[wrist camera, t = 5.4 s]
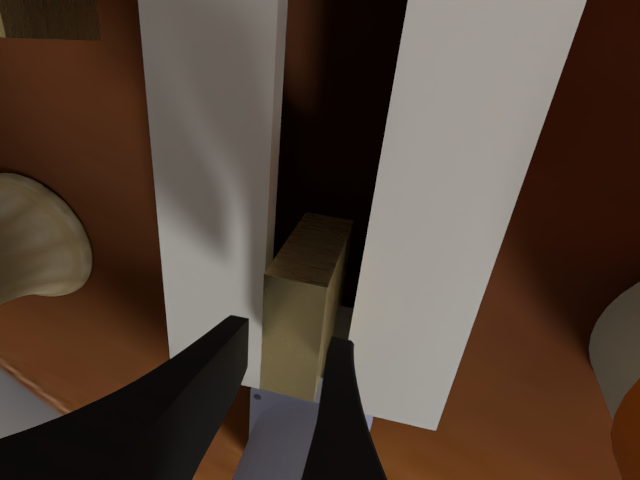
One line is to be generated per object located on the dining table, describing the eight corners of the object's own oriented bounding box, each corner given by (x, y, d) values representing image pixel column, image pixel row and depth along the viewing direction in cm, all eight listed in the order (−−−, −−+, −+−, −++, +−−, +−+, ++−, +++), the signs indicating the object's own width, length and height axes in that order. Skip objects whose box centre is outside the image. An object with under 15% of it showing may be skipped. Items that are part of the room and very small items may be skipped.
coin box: (428, 338, 22) (435, 430, 17) (224, 296, 23) (170, 368, 18) (545, -61, 14) (632, -131, 8) (221, -85, 15) (123, -158, 10)
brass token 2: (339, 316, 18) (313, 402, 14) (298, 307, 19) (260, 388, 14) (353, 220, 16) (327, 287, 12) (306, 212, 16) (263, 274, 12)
